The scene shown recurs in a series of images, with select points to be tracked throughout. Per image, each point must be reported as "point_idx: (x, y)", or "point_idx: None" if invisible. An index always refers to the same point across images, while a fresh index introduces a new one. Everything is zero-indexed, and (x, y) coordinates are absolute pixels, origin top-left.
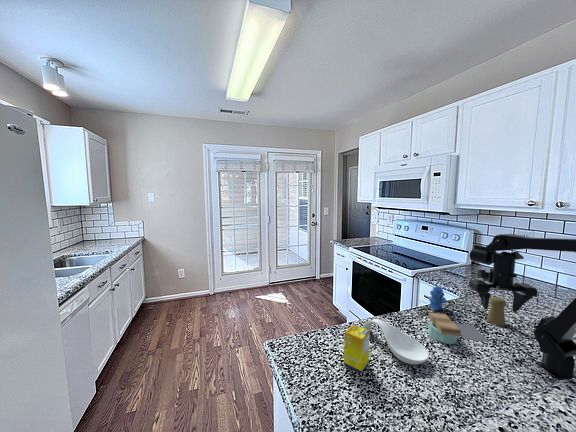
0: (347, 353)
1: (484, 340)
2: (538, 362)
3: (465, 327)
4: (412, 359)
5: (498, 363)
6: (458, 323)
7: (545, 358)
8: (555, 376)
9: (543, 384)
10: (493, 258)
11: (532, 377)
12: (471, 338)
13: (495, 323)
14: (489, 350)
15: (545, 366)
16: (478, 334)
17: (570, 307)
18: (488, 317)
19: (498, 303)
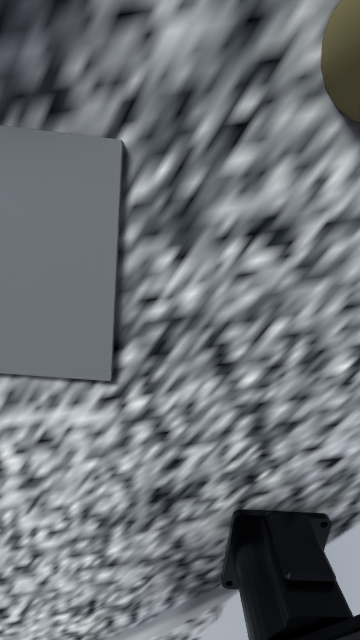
0: None
1: (87, 368)
2: (243, 517)
3: (41, 199)
4: None
5: (49, 529)
6: (10, 128)
7: (246, 595)
8: (230, 587)
9: (149, 610)
10: None
11: (137, 585)
12: (9, 357)
13: (354, 98)
14: (69, 439)
15: (235, 561)
16: (90, 296)
17: None
18: (358, 3)
19: None
